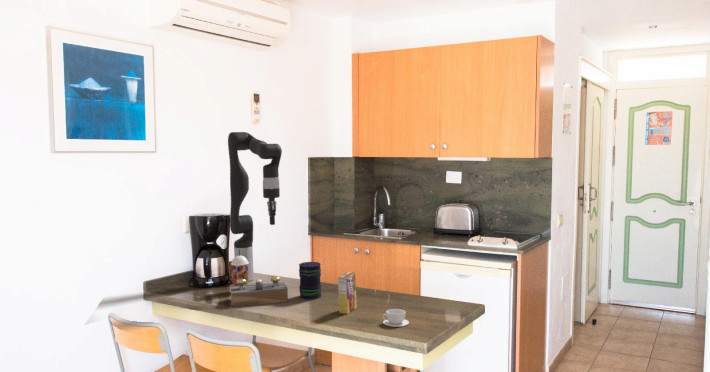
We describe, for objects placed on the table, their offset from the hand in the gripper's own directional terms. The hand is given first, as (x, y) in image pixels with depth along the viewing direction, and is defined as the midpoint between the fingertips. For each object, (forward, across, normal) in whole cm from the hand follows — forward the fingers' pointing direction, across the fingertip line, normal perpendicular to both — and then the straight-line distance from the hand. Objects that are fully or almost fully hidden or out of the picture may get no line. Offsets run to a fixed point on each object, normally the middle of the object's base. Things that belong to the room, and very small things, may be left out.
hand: (272, 224), depth 264 cm
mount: (+32, +11, -8) cm, 35 cm away
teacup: (+32, +59, +40) cm, 78 cm away
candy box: (+32, +38, +26) cm, 56 cm away
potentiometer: (+26, +15, -8) cm, 31 cm away
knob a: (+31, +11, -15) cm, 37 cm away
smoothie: (+32, -7, -15) cm, 36 cm away
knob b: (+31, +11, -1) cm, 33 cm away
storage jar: (+32, +12, +15) cm, 37 cm away
